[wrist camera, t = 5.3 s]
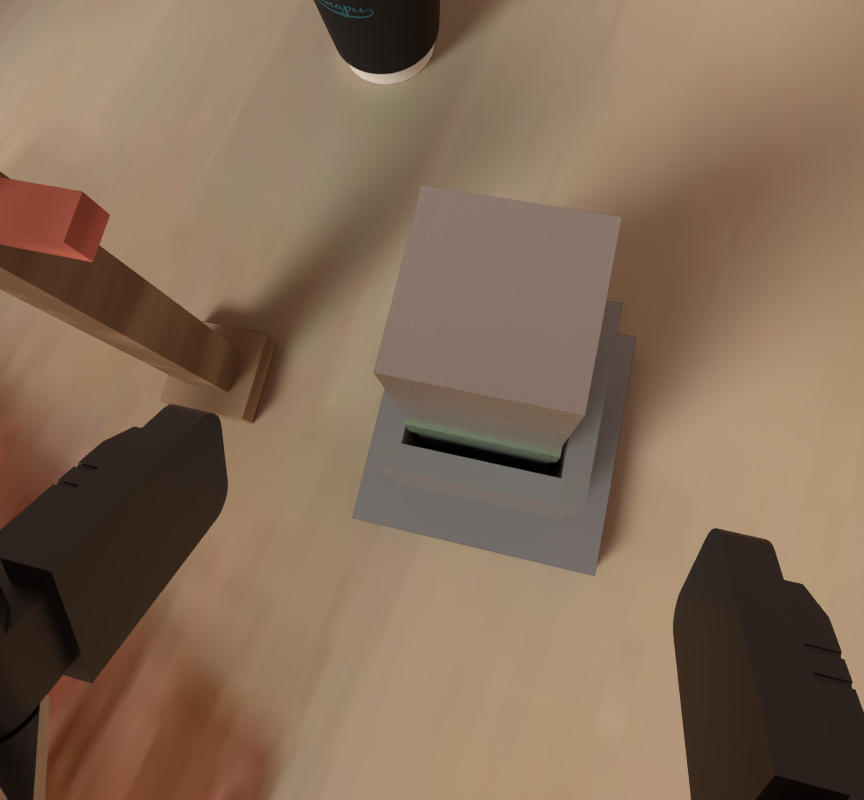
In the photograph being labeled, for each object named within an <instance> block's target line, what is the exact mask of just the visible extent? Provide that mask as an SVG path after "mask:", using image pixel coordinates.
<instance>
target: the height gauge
mask: <svg viewBox="0 0 864 800" xmlns="http://www.w3.org/2000/svg"><path fill="white" fill-rule="evenodd" d="M109 216H110V215H109V214H108V213H107V212H106V211H105V210H104V209H102V208H101V207H100V206H99V205H98V204H96V203H95V202H94V201H93V200H92V199H90V198H89V197H88V196H87V195H86V194H85V193H83V192H82V191H76V190H70V189H65V188H59V187H53V186H47V185H41V184H36V183H30V182H24V181H18V180H12V179H9V178H8V177H7V176H5V175H4V174H3V173H1V172H0V289H1V290H3V291H5V292H6V293H8V294H10V295H12V296H14V297H16V298H18V299H20V300H22V301H24V302H26V303H28V304H30V305H32V306H34V307H36V308H38V309H40V310H42V311H44V312H46V313H48V314H50V315H52V316H54V317H56V318H58V319H60V320H62V321H64V322H66V323H68V324H70V325H72V326H74V327H76V328H78V329H80V330H82V331H84V332H85V333H87V334H89V335H91V336H93V337H95V338H97V339H99V340H101V341H103V342H105V343H107V344H109V345H111V346H113V347H115V348H117V349H119V350H121V351H123V352H125V353H127V354H129V355H131V356H133V357H135V358H137V359H139V360H141V361H143V362H145V363H147V364H149V365H151V366H153V367H155V368H157V369H159V370H161V371H163V372H164V373H166V374H168V377H167V381H166V384H165V387H164V390H163V393H162V396H161V399H160V401H162V402H165V403H167V404H170V405H172V404H174V405H179V406H184V407H188V408H192V409H197V410H201V411H206V412H210V413H214V414H216V415H217V416H220V417H225V418H229V419H234V420H238V421H243V422H247V423H253V420H254V416H255V413H256V410H257V406H258V403H259V399H260V396H261V392H262V389H263V386H264V382H265V379H266V375H267V372H268V368H269V365H270V362H271V358H272V355H273V351H274V348H275V344H276V342H275V341H274V340H273V339H272V338H271V337H270V336H269V335H268V334H264V333H259V332H254V331H249V330H244V329H239V328H234V327H229V326H224V325H219V324H214V323H209V322H204V321H200V320H199V319H197V318H196V317H195V316H193V315H192V314H191V313H189V312H188V311H187V310H185V309H184V308H183V307H181V306H180V305H179V304H177V303H176V302H175V301H173V300H172V299H171V298H169V297H168V296H166V295H165V294H164V293H162V292H161V291H160V290H158V289H157V288H156V287H154V286H153V285H152V284H150V283H149V282H148V281H146V280H145V279H144V278H142V277H141V276H140V275H138V274H137V273H136V272H134V271H133V270H132V269H130V268H129V267H128V266H126V265H125V264H124V263H122V262H121V261H120V260H118V259H117V258H116V257H114V256H113V255H111V254H110V253H109V252H107V251H106V250H105V249H103V248H102V247H101V246H99V244H100V241H101V238H102V236H103V233H104V230H105V227H106V225H107V222H108V219H109Z"/></svg>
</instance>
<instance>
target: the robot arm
mask: <svg viewBox="0 0 864 800" xmlns="http://www.w3.org/2000/svg"><path fill="white" fill-rule="evenodd" d="M227 490H228V480H227V471H226V462H225V454H224V445H223V436H222V428H221V422H220V419H219V417H218V416H217V415H216V414H214V413H210V412H206V411H201V410H197V409H192V408H188V407H184V406H179V405H174V404H172V405H168V406H166V407H165V408H163V409H162V410H161V411H160V412H159V413H158V414H157V415H156V416H155V417H153V418H152V419H151V420H150V421H149V422H148V423H147V424H146V425H145V426H144V427H142V428H138V427H132V428H130V429H128V430H126V431H124V432H122V433H120V434H118V435H116V436H114V437H111V438H109V439H107V440H105V441H103V442H102V443H101V444H99V445H98V446H97V447H96V448H95V449H94V450H92V451H91V452H90V453H89V454H88V455H87V456H86V457H84V458H83V459H82V460H81V461H80V462H79V464H78V467H73V468H72V469H71V470H69V471H68V472H67V473H66V474H65V475H64V476H62V477H61V478H60V479H59V482H58V484H57V485H54V484H53V485H52V486H51V487H50V488H49V489H47V490H46V491H45V492H44V493H43V494H42V495H41V496H39V497H38V498H37V499H36V500H35V501H34V502H32V503H31V504H30V505H29V506H28V507H27V508H26V509H24V510H23V511H22V512H21V513H20V514H19V515H17V516H16V517H15V518H14V519H13V520H12V521H10V522H9V523H8V524H7V525H6V526H5V527H4V528H2V529H1V530H0V800H45V787H46V769H47V751H48V734H49V716H50V699H49V696H48V693H49V691H50V690H51V689H52V688H53V686H54V685H55V684H56V683H57V681H58V680H59V679H60V678H61V677H62V675H66V676H69V677H72V678H76V679H79V680H82V681H85V682H89V683H93V681H94V680H95V679H96V678H97V676H98V675H99V674H100V672H101V671H102V670H103V668H104V667H105V666H106V664H107V663H108V662H109V660H110V659H111V658H112V656H113V655H114V654H115V652H116V651H117V650H118V648H119V647H120V646H121V645H122V643H123V642H124V641H125V639H126V638H127V637H128V635H129V634H130V633H131V631H132V630H133V629H134V627H135V626H136V625H137V623H138V622H139V621H140V619H141V618H142V617H143V615H144V614H145V613H146V612H147V610H148V609H149V608H150V606H151V605H152V604H153V602H154V601H155V600H156V598H157V597H158V596H159V594H160V593H161V592H162V590H163V589H164V588H165V586H166V585H167V584H168V582H169V581H170V580H171V579H172V577H173V576H174V575H175V573H176V572H177V571H178V569H179V568H180V567H181V565H182V564H183V563H184V561H185V560H186V559H187V557H188V556H189V555H190V553H191V552H192V551H193V550H194V548H195V547H196V546H197V544H198V543H199V542H200V540H201V539H202V538H203V536H204V535H205V534H206V532H207V531H208V530H209V528H210V527H211V526H212V524H213V523H214V522H215V520H216V519H217V518H218V516H219V514H220V512H221V510H222V508H223V506H224V503H225V500H226V496H227ZM673 636H674V646H675V655H676V664H677V673H678V682H679V692H680V701H681V710H682V719H683V729H684V738H685V747H686V756H687V765H688V775H689V784H690V793H691V800H864V712H863V709H862V706H861V704H860V701H859V698H858V695H857V693H856V690H855V689H852V679H851V676H850V674H849V671H848V668H847V665H846V663H845V660H844V659H841V653H842V652H841V649H840V646H839V644H838V641H837V638H836V635H835V633H834V630H833V627H832V624H831V622H830V619H829V617H828V616H827V614H826V613H825V612H824V611H823V609H822V608H821V607H820V605H819V604H818V603H817V602H816V600H815V599H814V598H813V597H812V595H811V594H810V593H809V592H808V590H807V589H806V588H805V587H804V585H803V584H799V583H795V582H791V581H786V580H784V579H783V575H782V572H781V569H780V566H779V563H778V559H777V556H776V553H775V550H774V547H773V545H772V544H771V542H770V541H768V540H766V539H762V538H757V537H753V536H748V535H744V534H740V533H735V532H731V531H726V530H722V529H717V528H714V529H712V530H711V531H710V532H709V534H708V535H707V537H706V539H705V541H704V543H703V545H702V548H701V550H700V552H699V554H698V556H697V558H696V560H695V562H694V564H693V566H692V568H691V570H690V573H689V575H688V577H687V579H686V581H685V583H684V585H683V587H682V589H681V591H680V594H679V596H678V599H677V603H676V607H675V613H674V621H673Z"/></svg>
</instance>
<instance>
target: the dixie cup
mask: <svg viewBox="0 0 864 800" xmlns="http://www.w3.org/2000/svg"><path fill="white" fill-rule="evenodd" d="M314 2H315V4H316V6H317V8H318V10H319V12H320V14H321V17H322V19H323V21H324V23H325V25H326V27H327V29H328V31H329V34H330V36H331V38H332V40H333V42H334V44H335V46H336V48H337V51H338V52H339V54H340V55H341V57H342V58H343V59H344V60H345V61H346V62H347V63H348V64H349V66H350V68H351V69H352V70H353V71H354V72H355V73H356V74H357V75H358V76H359V77H361V78H362V79H364V80H366V81H369V82H372V83H376V84H394V83H399V82H402V81H405V80H407V79H409V78H411V77H413V76H415V75H416V74H417V73H419V72H420V71H421V70H422V69H423V68H424V67H425V66H426V65H427V63H428V62H429V60H430V58H431V56H432V54H433V51H434V45H435V41H436V38H437V35H438V31H439V15H440V0H314Z"/></svg>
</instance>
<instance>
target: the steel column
mask: <svg viewBox="0 0 864 800" xmlns="http://www.w3.org/2000/svg"><path fill="white" fill-rule="evenodd" d="M621 219H622V217H619V216H613V215H607V214H600V213H594V212H588V211H581V210H575V209H568V208H562V207H556V206H549V205H543V204H537V203H530V202H524V201H518V200H511V199H505V198H499V197H492V196H486V195H480V194H473V193H467V192H461V191H454V190H448V189H442V188H435V187H429V186H421V190H420V194H419V198H418V202H417V206H416V210H415V213H414V217H413V221H412V225H411V229H410V233H409V237H408V241H407V244H406V248H405V252H404V256H403V260H402V264H401V268H400V272H399V276H398V279H397V283H396V287H395V291H394V295H393V299H392V303H391V307H390V311H389V314H388V318H387V322H386V326H385V330H384V334H383V338H382V342H381V346H380V349H379V353H378V357H377V361H376V365H375V369H374V374H375V375H376V377H377V378H378V379H379V381H380V382H381V384H382V385H383V386H384V388H385V389H386V391H387V392H388V393H389V395H390V396H391V398H392V399H393V400H394V402H395V403H396V404H397V406H398V407H399V409H400V410H401V411H402V413H403V414H404V416H405V422H404V425H405V426H406V427H407V428H408V430H409V431H410V432H415V433H417V434H418V435H419V436H420V438H421V439H422V441H423V442H424V443H425V445H426V446H427V448H428V449H429V450H433V451H438V452H442V453H447V454H452V455H456V456H461V457H465V458H470V459H474V460H479V461H484V462H488V463H493V464H497V465H502V466H506V467H511V468H516V469H520V470H525V471H529V472H534V473H538V474H542V472H543V471H544V470H545V468H546V467H547V466H548V464H549V463H550V462H554V463H556V462H557V461H558V460H559V458H560V456H561V451H562V446H563V444H564V443H565V442H566V440H567V439H568V438H569V436H570V435H571V434H572V432H573V431H574V430H575V428H576V427H577V426H578V424H579V423H580V421H581V420H582V419H583V417H584V416H585V412H586V407H587V402H588V396H589V391H590V386H591V380H592V375H593V369H594V364H595V359H596V353H597V348H598V343H599V337H600V332H601V326H602V321H603V316H604V310H605V305H606V299H607V294H608V289H609V283H610V278H611V273H612V267H613V262H614V256H615V251H616V246H617V240H618V235H619V230H620V224H621Z"/></svg>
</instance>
